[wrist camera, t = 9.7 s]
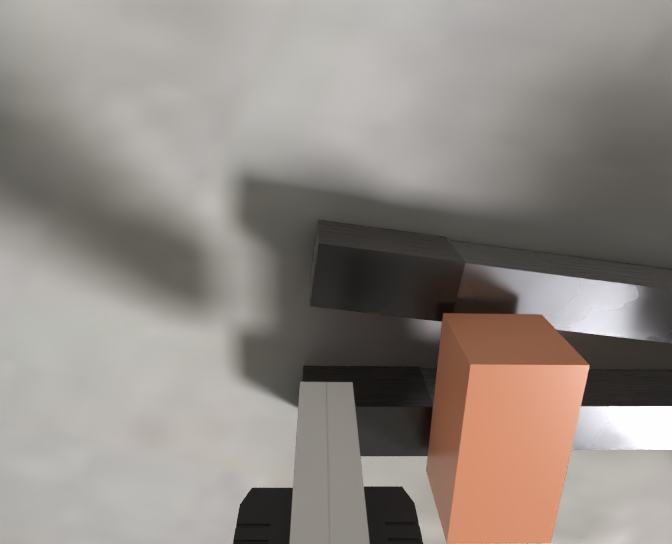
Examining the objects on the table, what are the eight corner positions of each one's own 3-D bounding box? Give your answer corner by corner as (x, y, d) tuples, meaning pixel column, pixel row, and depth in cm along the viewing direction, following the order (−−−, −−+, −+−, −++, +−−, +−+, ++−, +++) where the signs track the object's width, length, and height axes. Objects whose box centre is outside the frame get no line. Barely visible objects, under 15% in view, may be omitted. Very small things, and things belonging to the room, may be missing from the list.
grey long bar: (300, 346, 19) (297, 395, 16) (317, 220, 18) (318, 249, 15) (805, 402, 21) (886, 456, 18) (863, 292, 20) (962, 331, 17)
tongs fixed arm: (303, 411, 21) (301, 456, 18) (303, 366, 20) (301, 406, 18) (692, 411, 21) (741, 455, 19) (705, 368, 21) (757, 407, 18)
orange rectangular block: (426, 470, 18) (446, 544, 15) (443, 313, 16) (470, 364, 13) (513, 470, 18) (550, 542, 15) (541, 314, 16) (590, 365, 13)
